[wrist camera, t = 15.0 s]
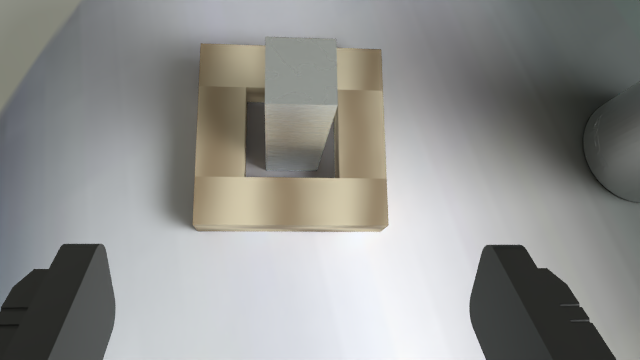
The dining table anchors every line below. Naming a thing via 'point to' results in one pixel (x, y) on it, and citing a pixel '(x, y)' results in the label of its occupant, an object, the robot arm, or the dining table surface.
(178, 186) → the dining table surface
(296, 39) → the plain gray rectangular block
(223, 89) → the well block
